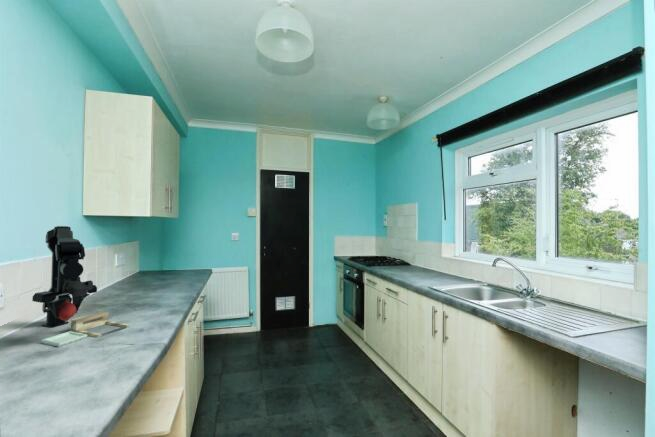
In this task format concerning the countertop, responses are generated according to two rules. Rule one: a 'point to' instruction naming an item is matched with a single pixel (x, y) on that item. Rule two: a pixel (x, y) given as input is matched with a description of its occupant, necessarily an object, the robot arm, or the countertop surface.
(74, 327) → the open rectangular frame
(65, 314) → the onion
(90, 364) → the countertop surface
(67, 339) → the tray
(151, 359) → the countertop surface
